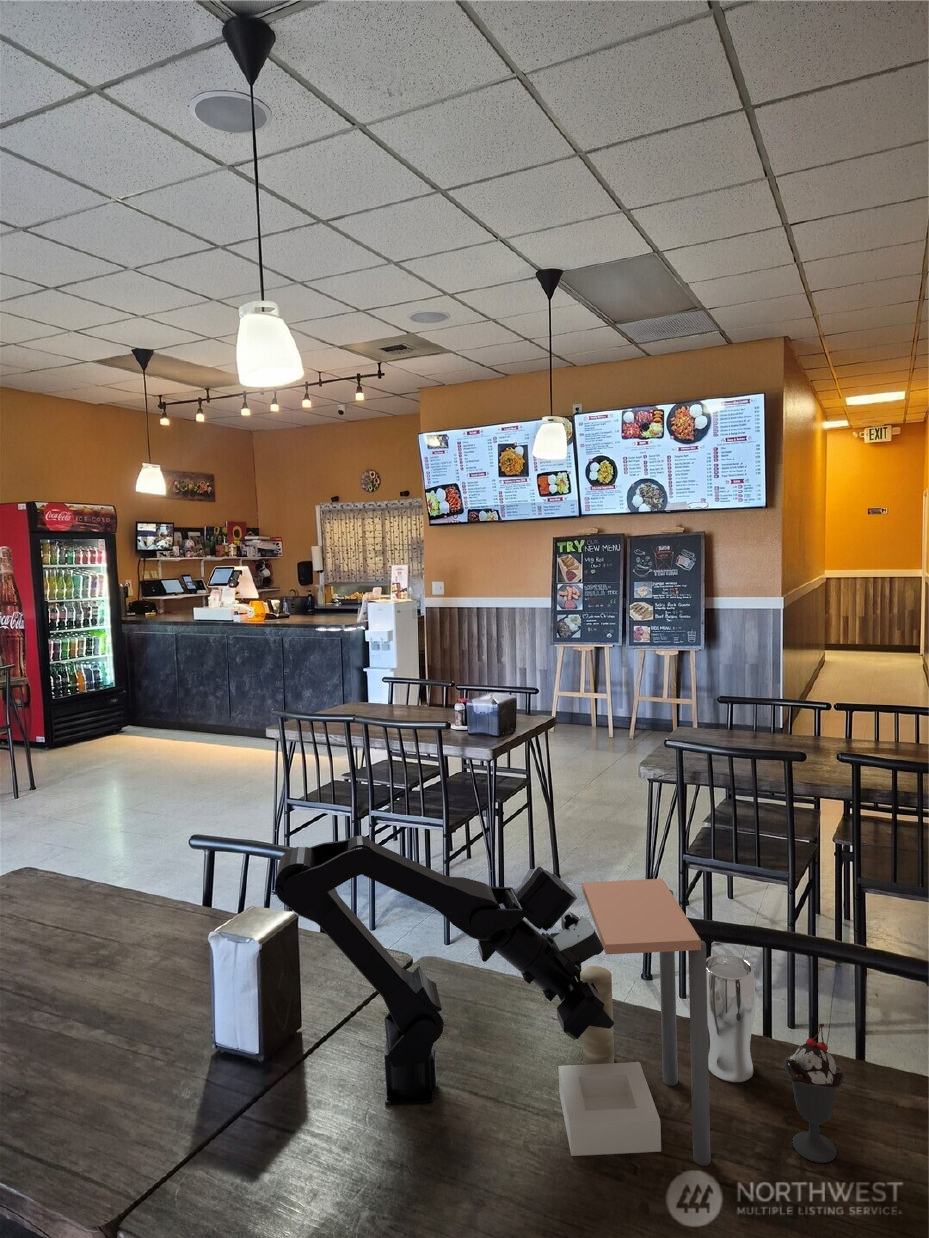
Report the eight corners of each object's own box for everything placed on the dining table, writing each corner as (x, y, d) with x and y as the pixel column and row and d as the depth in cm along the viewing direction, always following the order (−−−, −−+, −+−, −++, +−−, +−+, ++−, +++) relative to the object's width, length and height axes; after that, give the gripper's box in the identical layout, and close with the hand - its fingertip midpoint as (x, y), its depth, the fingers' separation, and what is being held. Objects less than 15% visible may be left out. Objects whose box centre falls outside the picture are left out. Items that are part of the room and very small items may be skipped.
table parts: (574, 1175, 92) (566, 946, 90) (556, 1078, 109) (549, 883, 107) (714, 1168, 93) (709, 939, 90) (674, 1072, 109) (669, 878, 107)
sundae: (840, 1132, 97) (839, 1017, 96) (847, 1173, 91) (847, 1051, 90) (783, 1122, 99) (781, 1009, 98) (786, 1161, 93) (785, 1042, 92)
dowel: (586, 1071, 111) (582, 983, 110) (581, 1051, 115) (578, 966, 114) (617, 1069, 111) (614, 981, 110) (611, 1049, 115) (608, 965, 114)
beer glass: (760, 1086, 106) (759, 981, 105) (707, 1082, 107) (704, 977, 106) (752, 1054, 113) (750, 954, 111) (702, 1050, 114) (700, 951, 113)
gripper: (586, 939, 101) (669, 1009, 104) (549, 880, 120) (621, 941, 122) (529, 1005, 101) (614, 1074, 103) (501, 936, 119) (574, 996, 122)
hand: (606, 1015), depth 113 cm, fingers closed on dowel, 4 cm apart
